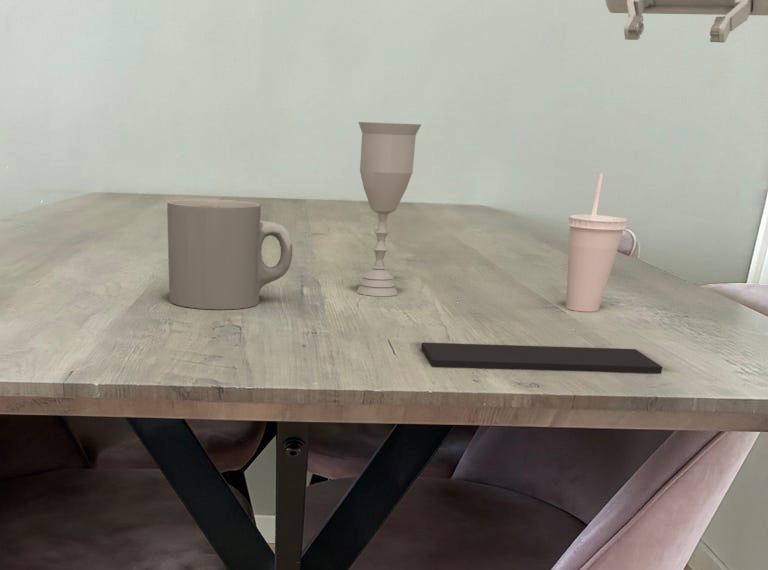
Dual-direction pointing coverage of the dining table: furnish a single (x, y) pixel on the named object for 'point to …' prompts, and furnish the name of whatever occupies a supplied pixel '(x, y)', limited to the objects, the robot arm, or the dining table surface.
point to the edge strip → (539, 358)
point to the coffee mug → (220, 253)
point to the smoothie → (591, 255)
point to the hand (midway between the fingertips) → (672, 36)
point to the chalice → (384, 188)
